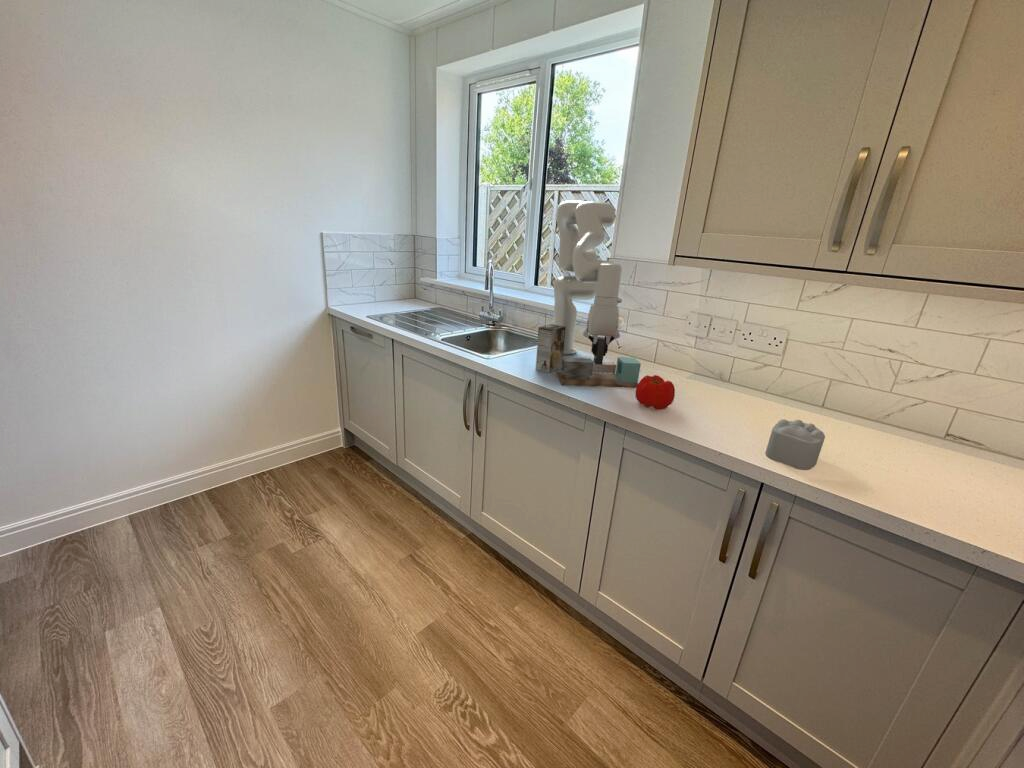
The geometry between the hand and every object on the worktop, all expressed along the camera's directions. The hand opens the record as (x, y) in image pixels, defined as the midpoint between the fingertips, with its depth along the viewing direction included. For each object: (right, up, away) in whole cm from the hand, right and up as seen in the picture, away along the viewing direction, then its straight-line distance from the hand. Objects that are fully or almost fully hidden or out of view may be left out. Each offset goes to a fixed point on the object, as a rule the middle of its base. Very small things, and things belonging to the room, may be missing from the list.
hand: (598, 354), depth 154 cm
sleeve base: (0, -9, +3) cm, 10 cm away
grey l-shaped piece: (-2, -6, +2) cm, 6 cm away
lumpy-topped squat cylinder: (+40, -28, -43) cm, 65 cm away
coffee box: (-16, -5, +14) cm, 22 cm away
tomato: (+13, -17, -16) cm, 27 cm away
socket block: (+10, -9, +4) cm, 15 cm away
